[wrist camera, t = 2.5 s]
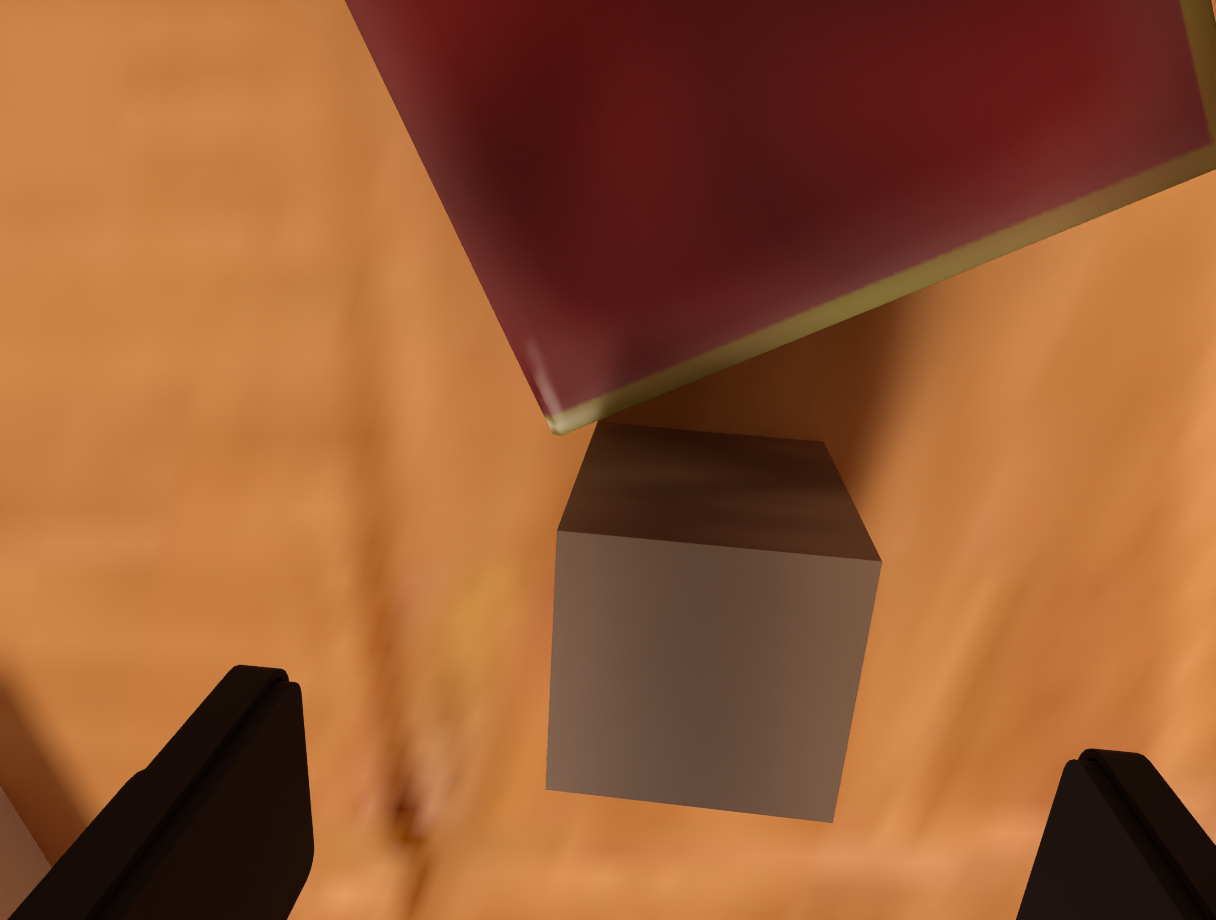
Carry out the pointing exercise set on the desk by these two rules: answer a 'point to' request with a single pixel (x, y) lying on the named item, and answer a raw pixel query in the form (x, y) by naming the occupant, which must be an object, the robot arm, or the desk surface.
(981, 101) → the hardcover book
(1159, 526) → the desk surface
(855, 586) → the walnut block
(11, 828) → the book
